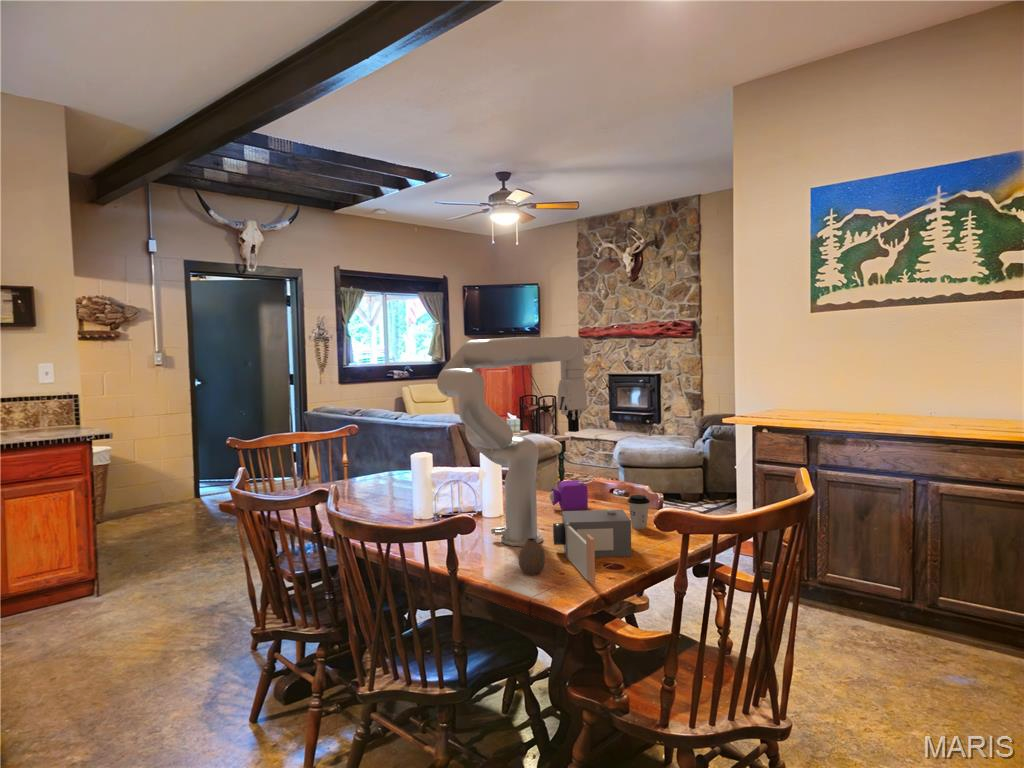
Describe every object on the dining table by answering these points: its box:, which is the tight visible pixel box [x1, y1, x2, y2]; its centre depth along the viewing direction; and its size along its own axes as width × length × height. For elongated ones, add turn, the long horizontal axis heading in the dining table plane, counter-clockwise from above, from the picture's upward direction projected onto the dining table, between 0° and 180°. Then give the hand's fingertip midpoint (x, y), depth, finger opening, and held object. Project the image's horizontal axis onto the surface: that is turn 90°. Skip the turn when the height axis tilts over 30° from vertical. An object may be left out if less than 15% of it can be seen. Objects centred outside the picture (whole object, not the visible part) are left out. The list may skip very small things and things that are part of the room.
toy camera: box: [549, 480, 589, 511], centre depth 221 cm, size 11×14×10 cm
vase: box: [518, 538, 546, 576], centre depth 158 cm, size 7×7×9 cm
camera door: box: [565, 523, 596, 585], centre depth 157 cm, size 22×1×12 cm, turn 11°
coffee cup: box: [627, 494, 651, 530], centre depth 195 cm, size 7×7×10 cm
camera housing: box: [552, 508, 632, 559], centre depth 174 cm, size 21×12×11 cm, turn 90°
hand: (573, 431), depth 198 cm, fingers closed
